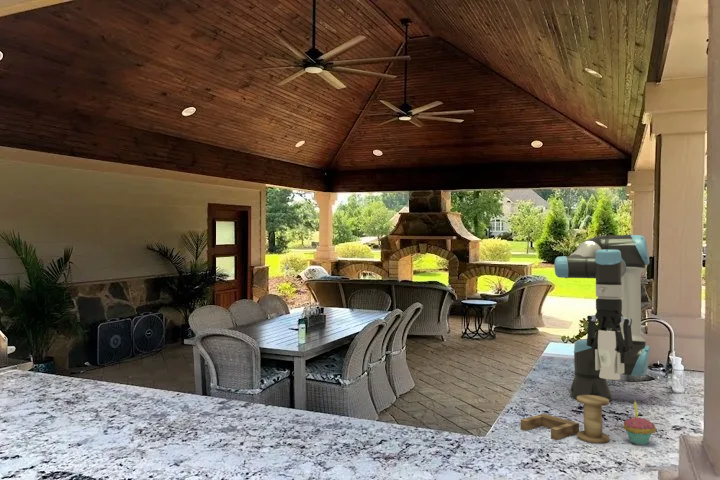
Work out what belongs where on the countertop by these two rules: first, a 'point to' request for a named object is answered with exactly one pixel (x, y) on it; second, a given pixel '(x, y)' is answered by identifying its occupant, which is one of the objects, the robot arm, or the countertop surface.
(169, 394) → the countertop surface
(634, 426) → the cupcake
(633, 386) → the countertop surface
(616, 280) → the robot arm
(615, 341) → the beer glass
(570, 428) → the u-shaped block
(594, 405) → the bobbin
